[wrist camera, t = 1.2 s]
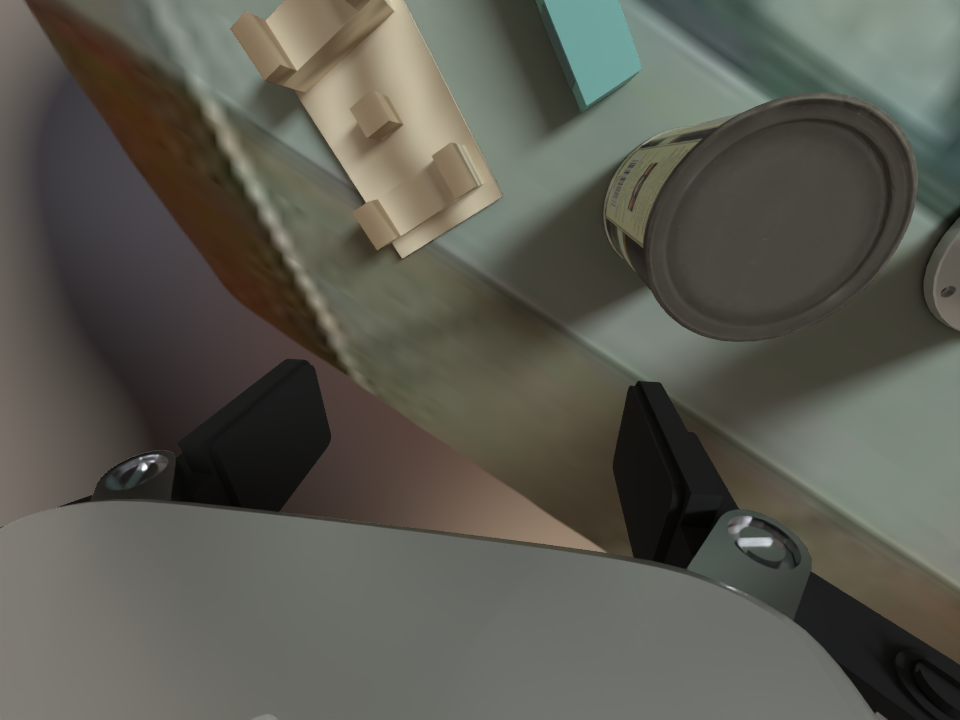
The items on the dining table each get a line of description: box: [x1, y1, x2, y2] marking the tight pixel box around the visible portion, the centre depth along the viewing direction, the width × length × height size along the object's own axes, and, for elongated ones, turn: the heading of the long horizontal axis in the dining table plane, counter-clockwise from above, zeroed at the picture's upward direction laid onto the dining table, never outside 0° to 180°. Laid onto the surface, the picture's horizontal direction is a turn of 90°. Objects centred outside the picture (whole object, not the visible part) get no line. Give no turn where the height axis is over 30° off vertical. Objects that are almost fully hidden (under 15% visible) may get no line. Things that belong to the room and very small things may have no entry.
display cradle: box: [230, 0, 503, 259], centre depth 26 cm, size 10×18×6 cm, turn 31°
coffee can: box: [603, 93, 918, 342], centre depth 22 cm, size 10×10×14 cm
